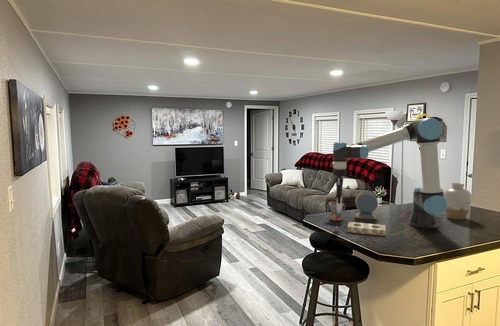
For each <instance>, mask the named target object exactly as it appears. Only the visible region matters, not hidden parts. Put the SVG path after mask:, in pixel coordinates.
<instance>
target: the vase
mask: <svg viewBox="0 0 500 326" xmlns="http://www.w3.org/2000/svg"><path fill="white" fill-rule="evenodd" d="M451 186H452V187H451V188H450V187H449V188H447V189H445V190H444V191H443V192H444V198H445V199H446V201H447V209H446V211H445V212H444V213H445V215H446V217H447V218H448V219H451V220H457V221H462V220H465V219H466V218H467V215H468V213H469V211H470V208H471V204H472V194H471V192H470V190H468V189H465V188H464V186H465V183H461V182H459V183H458V182H456V183H455V182H453V183H451Z"/></svg>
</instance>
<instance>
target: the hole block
mask: <svg viewBox="0 0 500 326" xmlns="http://www.w3.org/2000/svg"><path fill="white" fill-rule="evenodd" d="M347 233H354V234H355V233H356V234H365V235H372V234H373V235H374V236H384V237H386V225H385V224H375V223H365V222H355V221H348V224H347Z"/></svg>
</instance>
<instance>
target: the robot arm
mask: <svg viewBox="0 0 500 326" xmlns="http://www.w3.org/2000/svg"><path fill="white" fill-rule="evenodd" d="M442 133H443V125H442V123H441V121H439V120H438V119H437V118H432V117H426V118H418V119H416V120H414V121H411V122H410V123H407V124H404V125H402V127H400V128H398V129H395V130H392V131H389V132H386V133H382V134H380V135H377V136H374V137H372V138H368V139H366V140H363V141H360V142H355V143H352V144H350V145H349V144H347V142H345V141H336V142H334V143H333V144H332V145H333V148H332V149H333V150H332V156H333V157H332V160H333V162H331V164H332V167H333V169H332V175H333V176H335V177H336V176H337V177H336V178H335V185H336V196H335V198H336V202H337V209H342V210H343V208H342V203H343V197H344V194H343V184H344V176H347V161H348V160H347V159H361V160H362V159H367V158H368V157H369V153H370V152H373V151H377V150H379V149H383V148H386V147H389V146H391V145H395V144H397V143H401V142H404V141H412V140H416V144H417V146H419V153H420V167H421V181H422V187H415V188H414V189H413V193H412V194H413V198H412V213H411V215H410V217H409V219H408V224H409V225H410V226H412V227H415V228H419V229H436V228H437V227H438V226H437V219H436V216H440V215H442V214H443V213H446V212H445V211H446V209H447V201H446V199H445V198H444V192H445V191H444V189H443V188H442V187H441V183H440V179H441V178H440V165H439V154H438V153H439V151H438V144H439V143H440V142H441V137H440V136H441V135H442ZM341 196H342V198H341Z"/></svg>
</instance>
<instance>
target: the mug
mask: <svg viewBox="0 0 500 326" xmlns="http://www.w3.org/2000/svg"><path fill="white" fill-rule="evenodd" d="M328 205H329V208H330V215H329V217H328V219H330V220H331V221H336V222H339V221H343V214H342V213H343V212H344V211H345V209H346V205H345V204H344V202H342V213H337V201H331V202H329V203H328Z"/></svg>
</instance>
